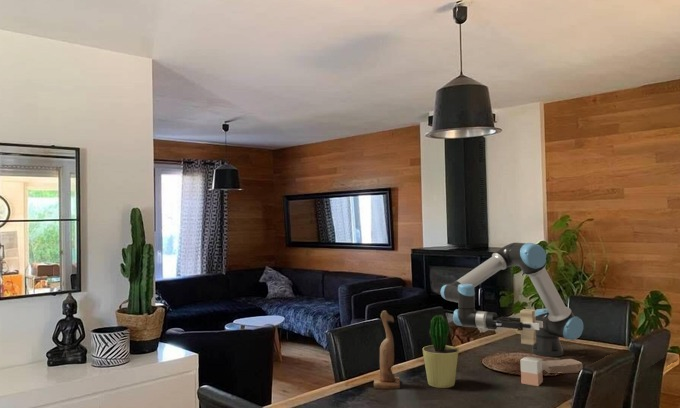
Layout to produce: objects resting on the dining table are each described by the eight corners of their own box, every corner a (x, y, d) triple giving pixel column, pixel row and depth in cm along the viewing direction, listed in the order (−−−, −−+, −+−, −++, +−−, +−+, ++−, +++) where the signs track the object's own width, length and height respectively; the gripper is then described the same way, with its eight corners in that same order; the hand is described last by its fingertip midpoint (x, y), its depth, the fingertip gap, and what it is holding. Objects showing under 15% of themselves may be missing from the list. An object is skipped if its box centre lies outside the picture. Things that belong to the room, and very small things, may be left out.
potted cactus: (452, 391, 211) (450, 318, 212) (417, 385, 219) (416, 315, 220) (464, 381, 224) (462, 312, 225) (431, 376, 232) (429, 309, 233)
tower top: (525, 367, 227) (525, 356, 227) (542, 370, 222) (542, 358, 222) (520, 371, 221) (520, 359, 221) (537, 374, 217) (537, 362, 217)
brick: (549, 375, 232) (549, 364, 233) (540, 369, 241) (539, 359, 241) (583, 373, 234) (583, 362, 235) (573, 368, 243) (572, 358, 243)
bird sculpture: (401, 390, 215) (402, 313, 217) (373, 389, 216) (374, 312, 217) (399, 382, 226) (399, 308, 228) (372, 381, 227) (373, 308, 228)
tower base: (526, 379, 226) (525, 367, 226) (542, 382, 222) (542, 370, 222) (521, 383, 221) (521, 371, 221) (538, 386, 216) (537, 374, 217)
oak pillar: (524, 341, 226) (523, 309, 226) (536, 342, 223) (535, 310, 223) (521, 343, 222) (520, 310, 222) (533, 344, 219) (532, 311, 219)
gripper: (494, 325, 240) (546, 330, 227) (480, 332, 225) (535, 338, 212) (493, 309, 240) (546, 313, 227) (480, 315, 226) (534, 320, 212)
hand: (540, 325), depth 219 cm, fingers closed on oak pillar, 5 cm apart
